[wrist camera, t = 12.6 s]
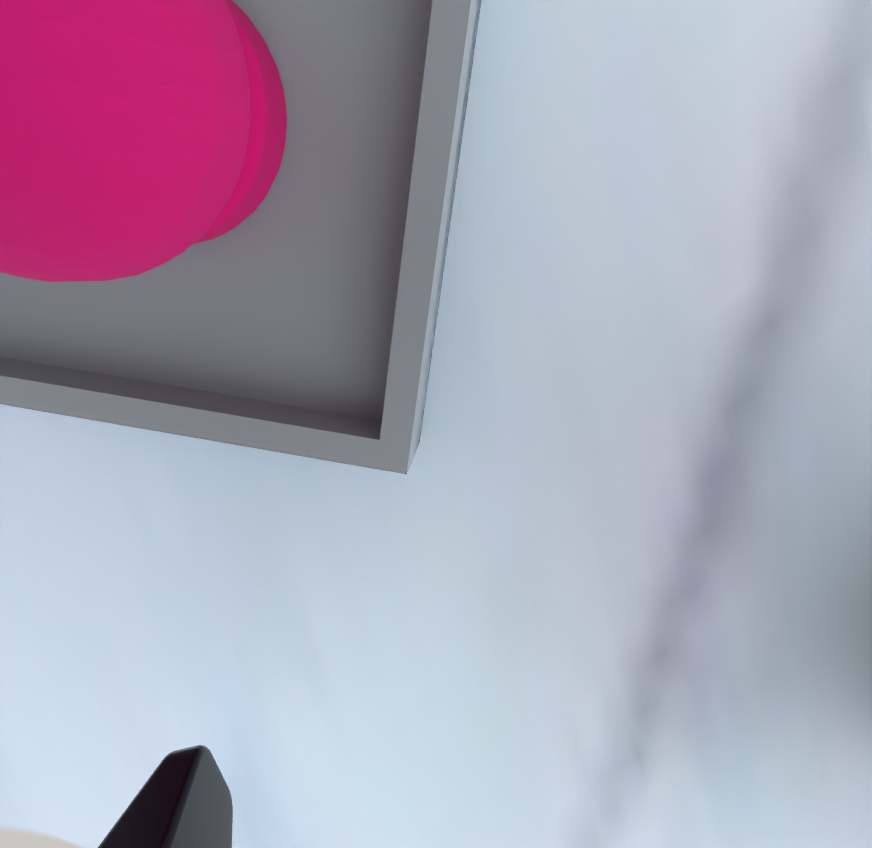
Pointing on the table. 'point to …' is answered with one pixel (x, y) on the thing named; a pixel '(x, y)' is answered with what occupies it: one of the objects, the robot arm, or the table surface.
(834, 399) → the table surface
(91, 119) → the pepper mill
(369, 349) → the tray
